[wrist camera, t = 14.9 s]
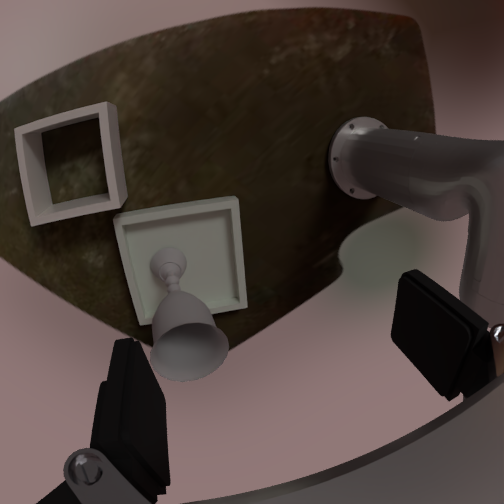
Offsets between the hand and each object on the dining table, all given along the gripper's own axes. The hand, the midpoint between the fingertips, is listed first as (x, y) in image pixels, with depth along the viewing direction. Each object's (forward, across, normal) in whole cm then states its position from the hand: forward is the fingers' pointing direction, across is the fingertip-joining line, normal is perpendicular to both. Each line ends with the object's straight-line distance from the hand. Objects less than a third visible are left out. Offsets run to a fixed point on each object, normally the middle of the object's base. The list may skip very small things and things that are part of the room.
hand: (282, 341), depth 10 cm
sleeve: (+32, +16, -6) cm, 36 cm away
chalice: (+31, +7, +10) cm, 34 cm away
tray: (+32, +5, +10) cm, 34 cm away
